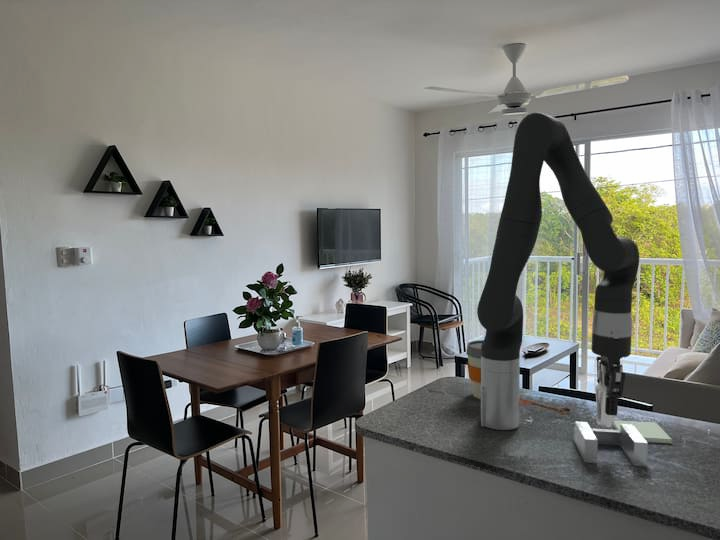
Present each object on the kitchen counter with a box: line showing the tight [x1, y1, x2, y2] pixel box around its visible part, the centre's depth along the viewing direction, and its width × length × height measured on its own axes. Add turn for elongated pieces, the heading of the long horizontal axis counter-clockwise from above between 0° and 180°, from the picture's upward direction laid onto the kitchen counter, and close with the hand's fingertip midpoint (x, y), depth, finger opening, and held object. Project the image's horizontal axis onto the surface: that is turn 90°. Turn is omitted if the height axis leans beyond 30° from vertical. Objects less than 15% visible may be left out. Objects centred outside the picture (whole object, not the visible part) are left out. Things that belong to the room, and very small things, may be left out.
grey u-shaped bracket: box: [573, 421, 649, 468], centre depth 114 cm, size 12×12×5 cm
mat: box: [613, 419, 673, 444], centre depth 124 cm, size 10×10×1 cm
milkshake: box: [594, 382, 616, 429], centre depth 112 cm, size 4×5×10 cm
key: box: [519, 397, 573, 415], centre depth 142 cm, size 6×1×15 cm
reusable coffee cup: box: [466, 339, 484, 400], centre depth 152 cm, size 13×13×15 cm
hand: (608, 410), depth 112 cm, fingers closed on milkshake, 4 cm apart
